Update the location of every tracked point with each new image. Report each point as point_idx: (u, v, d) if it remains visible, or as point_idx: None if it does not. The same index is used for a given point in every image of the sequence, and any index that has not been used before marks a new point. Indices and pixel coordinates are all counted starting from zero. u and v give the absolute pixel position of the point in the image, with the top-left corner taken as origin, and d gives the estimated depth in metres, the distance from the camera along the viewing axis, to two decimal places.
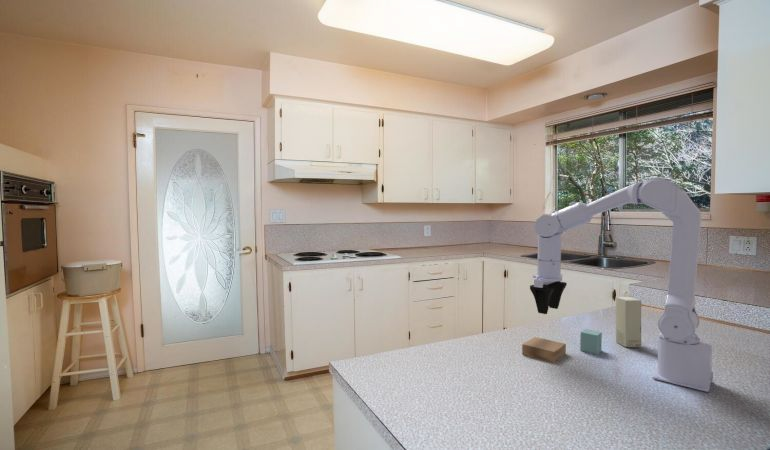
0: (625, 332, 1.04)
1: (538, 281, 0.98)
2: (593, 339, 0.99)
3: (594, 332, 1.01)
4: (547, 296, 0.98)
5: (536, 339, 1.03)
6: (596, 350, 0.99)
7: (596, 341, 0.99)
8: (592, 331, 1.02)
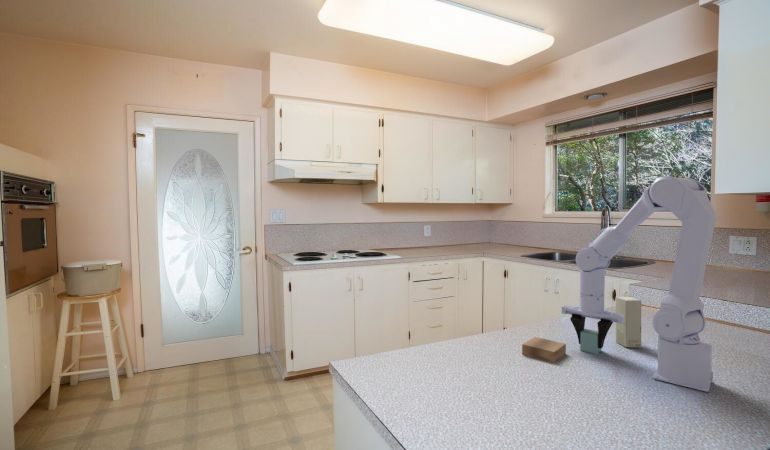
0: (625, 332, 1.04)
1: None
2: (593, 339, 0.99)
3: (594, 332, 1.01)
4: None
5: (536, 339, 1.03)
6: (596, 350, 0.99)
7: (596, 341, 0.99)
8: (592, 330, 1.03)
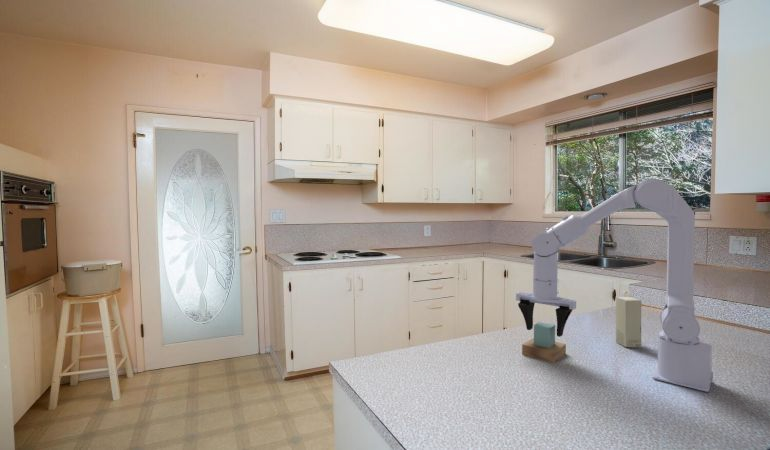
0: (625, 332, 1.04)
1: None
2: (546, 332, 0.97)
3: (547, 325, 0.99)
4: None
5: None
6: (549, 343, 0.97)
7: (549, 334, 0.97)
8: (546, 323, 1.00)
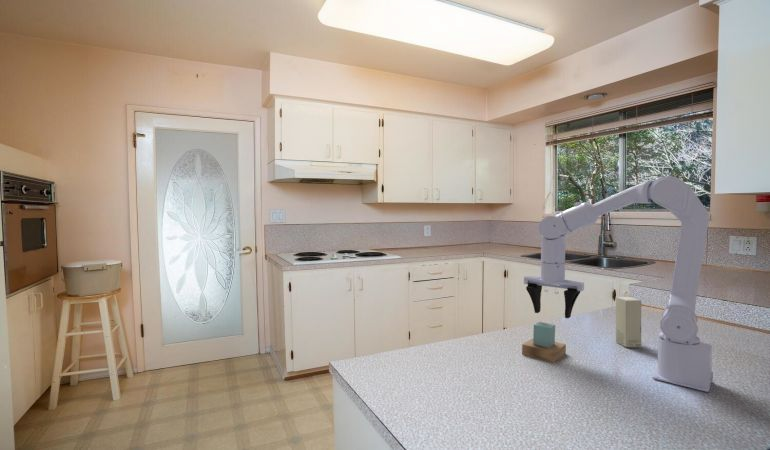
0: (625, 332, 1.04)
1: None
2: (546, 332, 0.97)
3: (547, 325, 0.99)
4: None
5: None
6: (548, 343, 0.97)
7: (548, 334, 0.97)
8: (546, 323, 1.00)
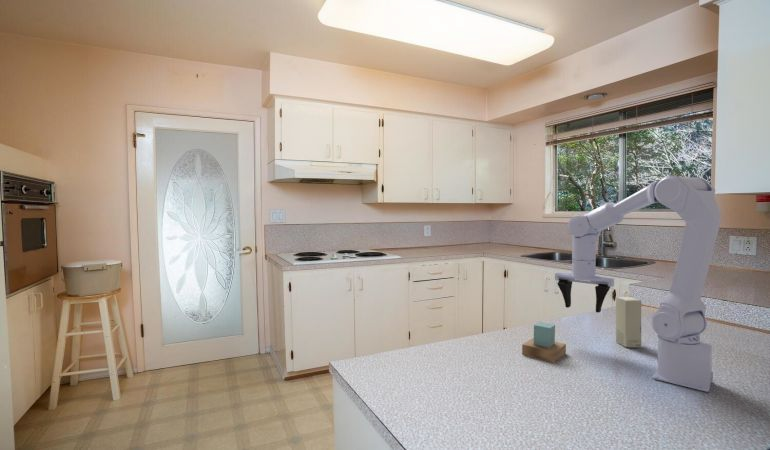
0: (625, 332, 1.04)
1: None
2: (546, 332, 0.97)
3: (547, 325, 0.99)
4: None
5: None
6: (549, 343, 0.97)
7: (549, 334, 0.97)
8: (545, 323, 1.00)
